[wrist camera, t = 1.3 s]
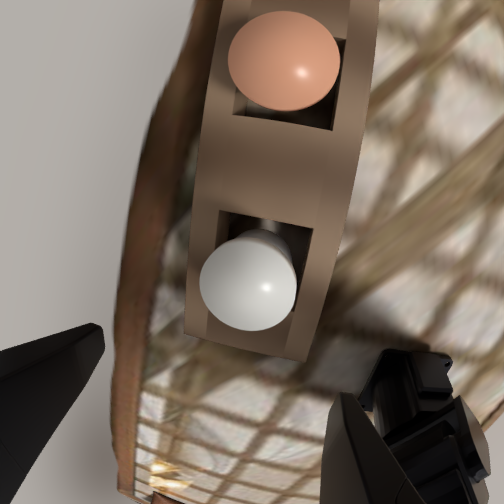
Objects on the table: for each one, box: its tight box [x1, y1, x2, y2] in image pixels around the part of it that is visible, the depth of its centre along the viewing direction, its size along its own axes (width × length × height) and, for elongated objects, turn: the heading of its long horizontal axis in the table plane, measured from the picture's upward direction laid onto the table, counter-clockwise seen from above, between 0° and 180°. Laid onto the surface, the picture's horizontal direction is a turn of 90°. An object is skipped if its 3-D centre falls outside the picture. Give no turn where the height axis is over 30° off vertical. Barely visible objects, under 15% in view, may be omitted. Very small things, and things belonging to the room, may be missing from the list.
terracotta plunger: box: [228, 11, 340, 111], centre depth 12 cm, size 4×4×4 cm
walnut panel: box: [184, 0, 379, 362], centre depth 16 cm, size 22×8×3 cm, turn 171°
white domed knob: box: [199, 229, 297, 331], centre depth 16 cm, size 4×4×4 cm
